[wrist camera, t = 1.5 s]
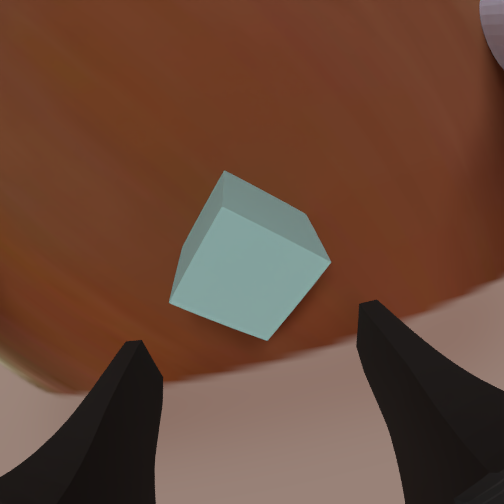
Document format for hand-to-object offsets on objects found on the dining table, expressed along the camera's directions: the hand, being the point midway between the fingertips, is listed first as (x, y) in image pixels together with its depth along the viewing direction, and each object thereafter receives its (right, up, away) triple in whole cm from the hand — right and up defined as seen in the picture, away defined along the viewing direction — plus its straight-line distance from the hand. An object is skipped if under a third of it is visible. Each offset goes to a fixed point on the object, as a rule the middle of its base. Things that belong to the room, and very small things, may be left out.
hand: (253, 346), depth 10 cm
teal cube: (0, +4, +7) cm, 8 cm away
